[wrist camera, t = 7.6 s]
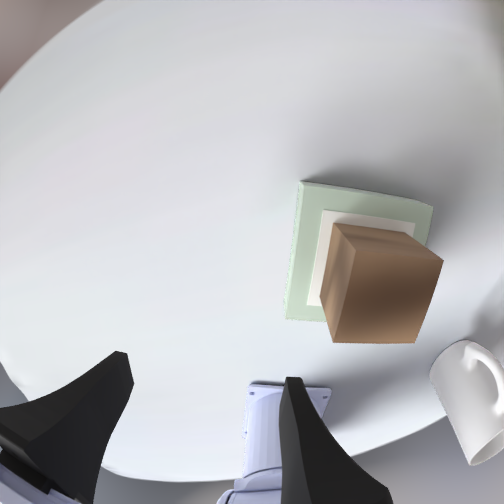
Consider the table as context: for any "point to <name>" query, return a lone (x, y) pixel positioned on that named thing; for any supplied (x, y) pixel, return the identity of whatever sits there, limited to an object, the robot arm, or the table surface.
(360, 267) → the walnut cube
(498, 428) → the mug
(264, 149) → the table surface
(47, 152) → the table surface
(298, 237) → the base plate
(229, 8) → the table surface
